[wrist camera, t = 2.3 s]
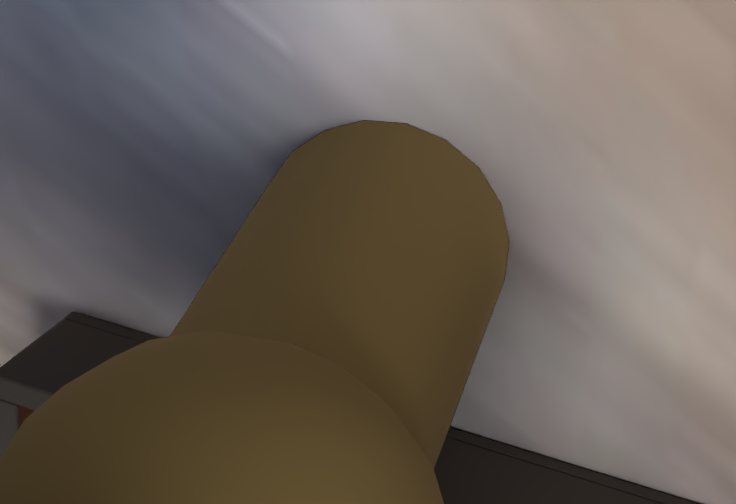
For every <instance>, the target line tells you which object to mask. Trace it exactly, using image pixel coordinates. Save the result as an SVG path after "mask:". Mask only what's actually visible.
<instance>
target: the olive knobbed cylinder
mask: <svg viewBox="0 0 736 504" xmlns="http://www.w3.org/2000/svg"><path fill="white" fill-rule="evenodd" d="M508 249H509V238H508V233H507V229H506V224H505V219H504V215H503V210H502V206H501V203H500V201H499V199H498V198H497V196H496V194H495V193H494V191H493V190H492V188H491V186H490V185H489V183H488V181H487V180H486V178H485V177H484V175H483V173H482V172H481V170H480V168H479V167H478V166H476V165H475V164H474V163H473V162H472V161H470V160H469V159H468V158H467V157H466V156H465V155H463V154H462V153H461V152H460V151H459V150H457V149H456V148H455V147H454V146H453V145H452V144H450V143H449V142H448V141H447V140H445V139H442V138H440V137H438V136H435V135H433V134H430V133H428V132H425V131H423V130H421V129H418V128H416V127H413V126H411V125H408V124H404V123H391V122H378V121H366V120H364V121H360V122H356V123H352V124H348V125H344V126H340V127H336V128H332V129H328V130H325V131H323V132H322V133H320V134H319V135H317V136H316V137H314V138H313V139H311V140H310V141H308V142H307V143H305V144H303V145H302V146H300V147H299V148H297V149H296V150H294V151H293V152H292V153H291V155H290V156H289V157H288V159H287V160H286V162H285V163H284V164H283V166H282V167H281V168H280V170H279V171H278V172H277V174H276V175H275V176H274V178H273V179H272V180H271V182H270V183H269V185H268V186H267V188H266V190H265V191H264V193H263V194H262V196H261V197H260V199H259V200H258V202H257V203H256V205H255V206H254V208H253V209H252V211H251V213H250V214H249V216H248V217H247V219H246V220H245V222H244V223H243V225H242V226H241V228H240V229H239V231H238V233H237V234H236V236H235V237H234V239H233V240H232V242H231V243H230V245H229V246H228V248H227V249H226V251H225V252H224V254H223V256H222V257H221V259H220V260H219V262H218V263H217V265H216V266H215V268H214V269H213V271H212V272H211V274H210V275H209V277H208V279H207V280H206V282H205V283H204V285H203V286H202V288H201V289H200V291H199V292H198V294H197V295H196V297H195V299H194V300H193V302H192V303H191V305H190V306H189V308H188V309H187V311H186V312H185V314H184V315H183V317H182V318H181V320H180V322H179V323H178V325H177V326H176V328H175V329H174V331H173V332H172V334H171V335H170V337H164V338H158V339H152V340H148V341H146V342H144V343H141V344H139V345H137V346H135V347H133V348H131V349H129V350H127V351H125V352H122V353H120V354H118V355H116V356H114V357H112V358H110V359H108V360H107V361H105V362H103V363H102V364H100V365H98V366H97V367H95V368H93V369H91V370H90V371H88V372H86V373H85V374H83V375H81V376H79V377H78V378H76V379H74V380H73V381H71V382H69V383H67V384H66V385H64V386H62V387H61V388H60V389H59V390H58V391H57V392H56V393H54V394H53V395H52V396H51V397H50V398H49V399H48V400H46V401H45V402H44V403H43V404H42V405H41V406H40V407H38V408H37V409H36V410H35V411H34V412H33V413H32V414H30V415H29V416H28V417H27V418H26V419H25V420H24V421H23V423H22V424H21V426H20V427H19V429H18V431H17V432H16V434H15V435H14V437H13V438H12V440H11V441H10V443H9V444H8V446H7V447H6V449H5V450H4V452H3V453H2V455H1V456H0V504H444V502H443V499H442V495H441V492H440V489H439V485H438V482H437V479H436V475H435V472H434V467H435V465H436V462H437V459H438V457H439V454H440V451H441V449H442V446H443V443H444V441H445V438H446V435H447V433H448V430H449V427H450V424H451V422H452V419H453V416H454V414H455V411H456V408H457V406H458V403H459V400H460V398H461V395H462V392H463V390H464V387H465V384H466V382H467V379H468V376H469V374H470V371H471V368H472V365H473V363H474V360H475V357H476V355H477V352H478V349H479V347H480V344H481V341H482V339H483V336H484V333H485V331H486V328H487V325H488V323H489V320H490V317H491V315H492V312H493V309H494V306H495V304H496V301H497V298H498V296H499V293H500V290H501V288H502V285H503V282H504V280H505V273H506V265H507V257H508Z"/></svg>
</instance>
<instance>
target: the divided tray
mask: <svg viewBox="0 0 736 504" xmlns="http://www.w3.org/2000/svg"><path fill="white" fill-rule="evenodd" d="M152 339H158V338H157V337H154V336H150V335H147V334H144V333H141V332H137V331H134V330H131V329H128V328H124V327H121V326H118V325H115V324H111V323H108V322H105V321H102V320H98V319H95V318H92V317H89V316H85V315H82V314H79V313H76V312H72V313H70V314H69V315H68V316H66V317H65V319H63V320H62V321H60V322H59V323H58V324H56V325H55V326H54V327H52V328H51V329H50V330H49V331H47V332H46V333H45V334H43V335H42V336H41V337H39V338H38V339H37V340H35V341H34V342H33V343H32V344H30V345H29V346H28V347H26V348H25V349H24V350H22V351H21V352H20V353H18V354H17V355H16V356H15V357H13V358H12V359H11V360H9V361H8V362H7V363H5V364H4V365H3V366H1V367H0V456H1V455H2V453H3V452H4V450H5V449H6V447H7V446H8V444H9V443H10V441H11V440H12V438H13V437H14V435H15V434H16V432H17V431H18V429H19V427H20V426H21V424H22V423H23V421H24V420H25V419H26V418H27V417H28V416H29V415H30V414H32V413H33V412H34V411H35V410H36V409H37V408H38V407H40V406H41V405H42V404H43V403H44V402H45V401H46V400H48V399H49V398H50V397H51V396H52V395H53V394H54V393H56V392H57V391H58V390H59V389H60V388H61V387H62V386H64V385H66V384H67V383H69V382H71V381H73V380H74V379H76V378H78V377H79V376H81V375H83V374H85V373H86V372H88V371H90V370H91V369H93V368H95V367H97V366H98V365H100V364H102V363H103V362H105V361H107V360H108V359H110V358H112V357H114V356H116V355H118V354H120V353H122V352H125V351H127V350H129V349H131V348H133V347H135V346H137V345H139V344H141V343H144V342H146V341H148V340H152ZM434 472H435V475H436V479H437V482H438V485H439V489H440V492H441V495H442V499H443V502H444V504H696V503H693V502H690V501H687V500H683V499H680V498H677V497H674V496H670V495H667V494H664V493H661V492H657V491H654V490H651V489H648V488H644V487H641V486H638V485H635V484H631V483H628V482H625V481H622V480H618V479H615V478H612V477H609V476H605V475H602V474H599V473H596V472H592V471H589V470H586V469H583V468H579V467H576V466H573V465H570V464H566V463H563V462H560V461H557V460H553V459H550V458H547V457H544V456H540V455H537V454H534V453H531V452H527V451H524V450H521V449H518V448H514V447H511V446H508V445H505V444H501V443H498V442H495V441H492V440H488V439H485V438H482V437H479V436H475V435H472V434H469V433H466V432H462V431H459V430H456V429H453V428H449V430H448V433H447V435H446V438H445V441H444V443H443V446H442V449H441V451H440V454H439V457H438V459H437V462H436V465H435V467H434Z"/></svg>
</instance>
